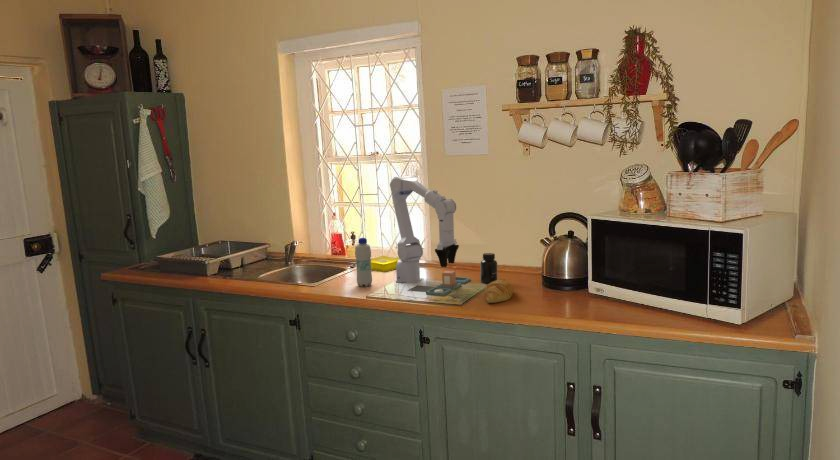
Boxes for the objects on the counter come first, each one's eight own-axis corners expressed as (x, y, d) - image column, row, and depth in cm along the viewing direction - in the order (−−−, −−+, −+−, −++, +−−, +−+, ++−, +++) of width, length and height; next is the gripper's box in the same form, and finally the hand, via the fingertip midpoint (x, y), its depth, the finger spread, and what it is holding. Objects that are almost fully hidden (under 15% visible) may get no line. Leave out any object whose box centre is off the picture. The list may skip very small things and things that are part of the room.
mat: (406, 291, 224) (406, 290, 224) (417, 286, 232) (417, 285, 232) (427, 293, 220) (427, 292, 220) (437, 287, 228) (437, 287, 228)
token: (432, 293, 218) (432, 291, 218) (436, 291, 221) (436, 288, 221) (441, 294, 216) (441, 291, 216) (445, 292, 219) (444, 289, 219)
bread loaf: (496, 315, 200) (506, 296, 197) (472, 300, 203) (481, 281, 201) (515, 299, 219) (524, 282, 216) (493, 285, 222) (501, 268, 219)
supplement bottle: (497, 284, 230) (496, 255, 228) (479, 284, 231) (479, 255, 229) (498, 281, 236) (497, 252, 235) (481, 280, 238) (480, 252, 236)
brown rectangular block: (442, 287, 227) (442, 272, 226) (446, 285, 230) (446, 270, 229) (451, 288, 225) (451, 273, 224) (455, 286, 228) (455, 271, 228)
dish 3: (447, 283, 235) (447, 280, 235) (454, 279, 241) (454, 276, 241) (463, 285, 232) (463, 281, 231) (470, 281, 238) (470, 277, 238)
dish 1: (426, 295, 217) (426, 291, 217) (434, 291, 224) (434, 287, 223) (443, 296, 214) (443, 293, 214) (451, 292, 220) (451, 288, 220)
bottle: (375, 284, 239) (373, 236, 236) (367, 288, 233) (365, 239, 230) (361, 283, 241) (359, 236, 239) (353, 286, 235) (350, 238, 233)
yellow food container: (406, 267, 274) (406, 257, 273) (384, 273, 262) (383, 262, 262) (384, 264, 283) (383, 254, 283) (361, 269, 272) (361, 259, 272)
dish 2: (437, 289, 226) (437, 285, 226) (444, 285, 232) (444, 281, 232) (454, 290, 223) (454, 287, 223) (461, 286, 229) (461, 283, 229)
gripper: (448, 233, 215) (449, 269, 217) (462, 228, 228) (463, 262, 230) (431, 233, 218) (432, 268, 220) (446, 228, 231) (447, 261, 233)
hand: (447, 265), depth 225 cm, fingers open, 7 cm apart
